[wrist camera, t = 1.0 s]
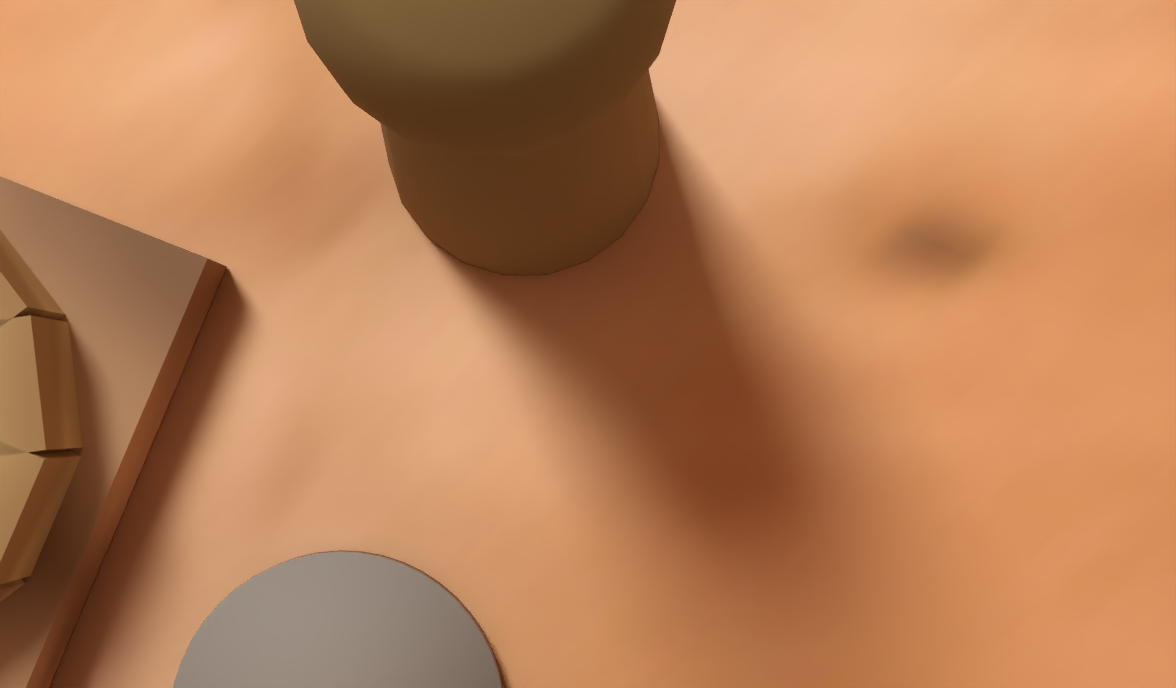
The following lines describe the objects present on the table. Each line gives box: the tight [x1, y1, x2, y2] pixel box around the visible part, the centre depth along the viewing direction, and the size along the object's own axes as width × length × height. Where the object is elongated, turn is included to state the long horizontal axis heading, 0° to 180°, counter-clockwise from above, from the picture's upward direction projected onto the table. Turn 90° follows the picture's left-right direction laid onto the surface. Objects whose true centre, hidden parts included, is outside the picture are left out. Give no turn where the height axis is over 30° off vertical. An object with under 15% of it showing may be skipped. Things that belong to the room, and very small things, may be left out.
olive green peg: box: [294, 0, 676, 275], centre depth 18 cm, size 6×6×11 cm
